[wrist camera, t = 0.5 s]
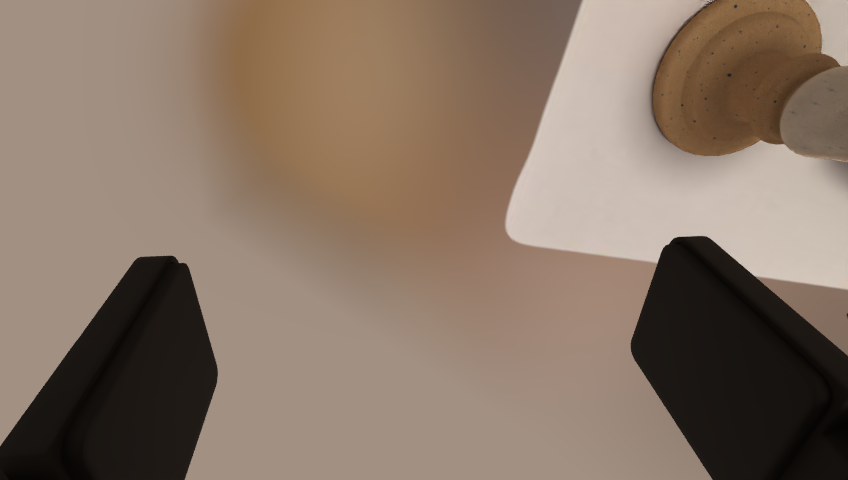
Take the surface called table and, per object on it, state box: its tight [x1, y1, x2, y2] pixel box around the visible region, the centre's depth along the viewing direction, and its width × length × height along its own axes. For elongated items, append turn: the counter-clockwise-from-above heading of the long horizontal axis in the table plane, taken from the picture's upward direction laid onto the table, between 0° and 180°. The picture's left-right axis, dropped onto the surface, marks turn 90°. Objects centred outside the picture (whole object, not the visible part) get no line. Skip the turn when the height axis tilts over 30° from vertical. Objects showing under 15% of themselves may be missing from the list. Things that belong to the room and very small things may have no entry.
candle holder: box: [653, 0, 848, 163], centre depth 28 cm, size 12×12×20 cm
